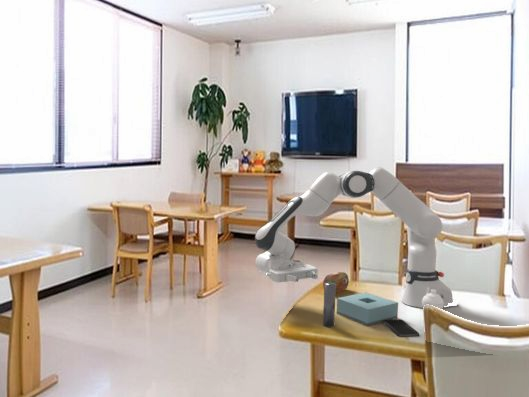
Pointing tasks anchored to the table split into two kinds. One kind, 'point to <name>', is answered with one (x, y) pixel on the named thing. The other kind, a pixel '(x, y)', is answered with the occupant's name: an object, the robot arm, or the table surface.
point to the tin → (338, 280)
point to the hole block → (367, 308)
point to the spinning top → (433, 299)
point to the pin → (329, 304)
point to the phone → (401, 328)
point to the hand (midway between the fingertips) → (306, 278)
